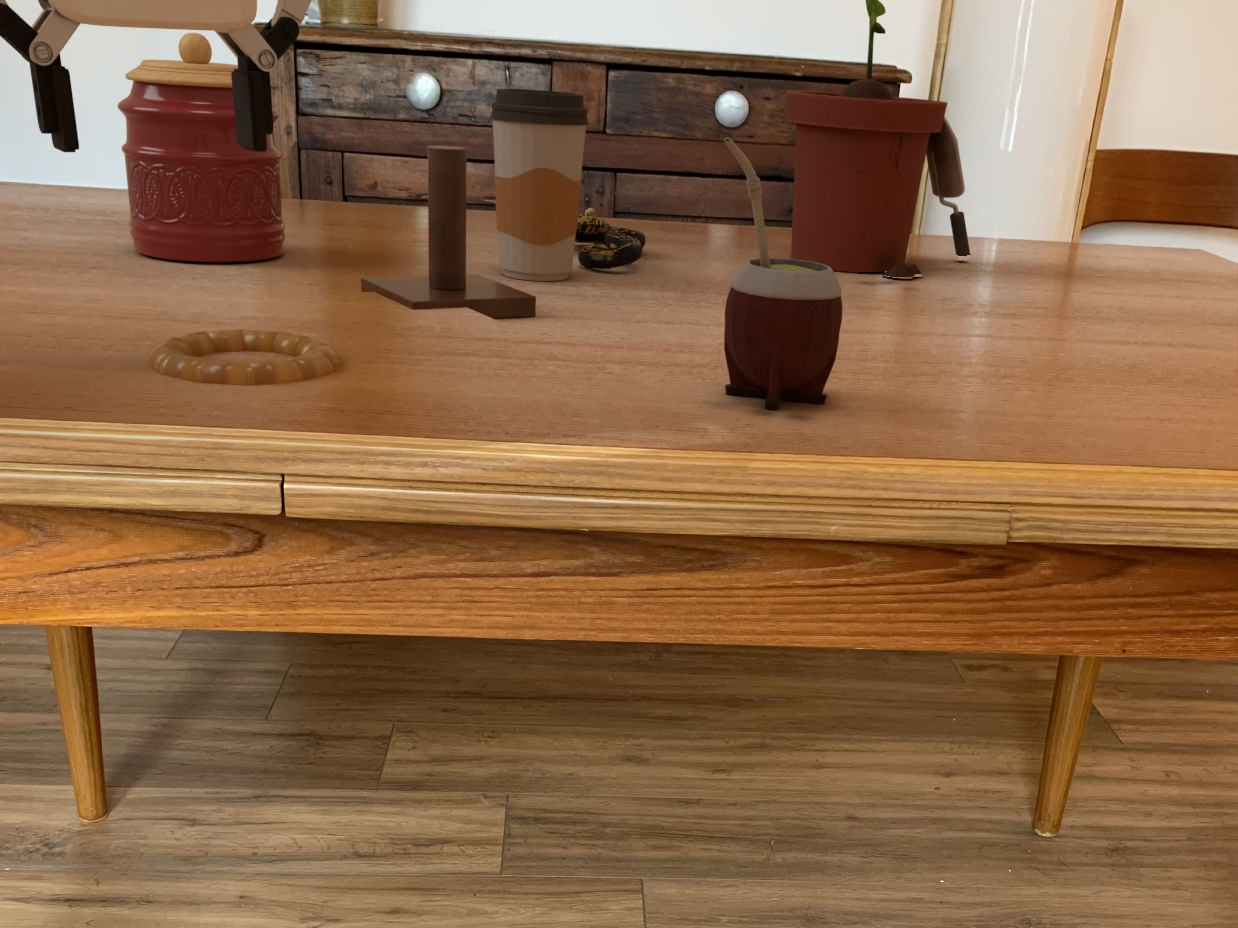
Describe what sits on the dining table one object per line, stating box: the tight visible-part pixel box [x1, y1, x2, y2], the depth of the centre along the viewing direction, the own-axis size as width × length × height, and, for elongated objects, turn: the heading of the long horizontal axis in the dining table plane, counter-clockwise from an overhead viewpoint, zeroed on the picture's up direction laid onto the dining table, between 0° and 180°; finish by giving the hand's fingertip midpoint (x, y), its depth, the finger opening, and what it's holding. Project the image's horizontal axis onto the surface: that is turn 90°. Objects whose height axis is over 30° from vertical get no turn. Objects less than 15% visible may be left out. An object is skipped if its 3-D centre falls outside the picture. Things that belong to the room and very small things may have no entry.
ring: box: [148, 329, 341, 386], centre depth 78 cm, size 10×10×2 cm
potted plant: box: [785, 0, 971, 280], centre depth 133 cm, size 18×22×25 cm
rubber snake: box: [575, 207, 646, 270], centre depth 130 cm, size 18×5×10 cm
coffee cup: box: [490, 88, 589, 282], centre depth 116 cm, size 8×8×15 cm
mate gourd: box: [723, 136, 843, 411], centre depth 80 cm, size 8×8×15 cm
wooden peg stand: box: [360, 145, 537, 319], centre depth 101 cm, size 10×10×12 cm
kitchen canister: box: [117, 32, 286, 263], centre depth 115 cm, size 13×13×18 cm
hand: (162, 149), depth 72 cm, fingers open, 9 cm apart
